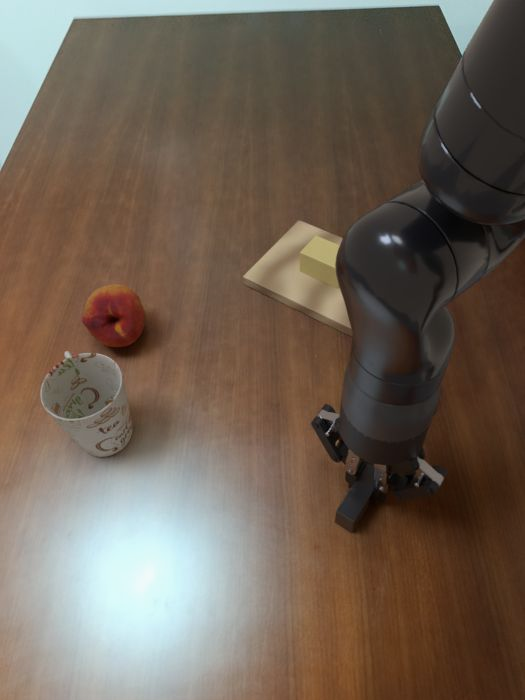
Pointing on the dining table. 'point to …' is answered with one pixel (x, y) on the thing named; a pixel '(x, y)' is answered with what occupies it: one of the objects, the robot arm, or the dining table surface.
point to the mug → (89, 402)
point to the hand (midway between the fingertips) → (367, 489)
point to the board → (299, 279)
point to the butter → (320, 260)
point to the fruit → (114, 315)
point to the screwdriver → (356, 500)
